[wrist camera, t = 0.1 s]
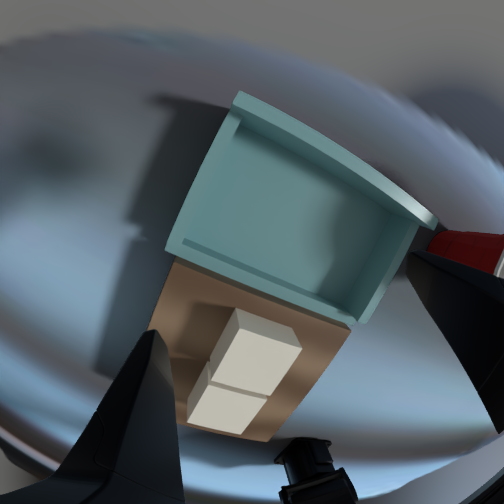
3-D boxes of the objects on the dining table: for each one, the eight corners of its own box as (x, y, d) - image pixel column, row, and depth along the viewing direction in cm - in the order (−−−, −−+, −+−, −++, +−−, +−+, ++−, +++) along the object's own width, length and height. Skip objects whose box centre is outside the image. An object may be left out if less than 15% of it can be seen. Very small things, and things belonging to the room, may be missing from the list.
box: (341, 313, 28) (369, 345, 22) (168, 241, 23) (156, 265, 18) (398, 208, 26) (438, 219, 20) (232, 109, 21) (239, 90, 15)
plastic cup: (479, 230, 28) (550, 258, 17) (444, 306, 30) (507, 351, 19) (434, 188, 26) (523, 208, 14) (393, 279, 28) (470, 335, 16)
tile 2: (237, 411, 25) (240, 434, 22) (187, 398, 24) (186, 422, 21) (260, 376, 24) (267, 399, 21) (207, 361, 23) (208, 384, 20)
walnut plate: (261, 417, 31) (267, 442, 27) (129, 379, 27) (122, 404, 23) (334, 310, 28) (351, 331, 24) (179, 246, 24) (174, 261, 20)
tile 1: (263, 372, 24) (270, 395, 21) (209, 356, 23) (210, 380, 20) (291, 327, 23) (302, 348, 20) (235, 307, 22) (239, 328, 19)
